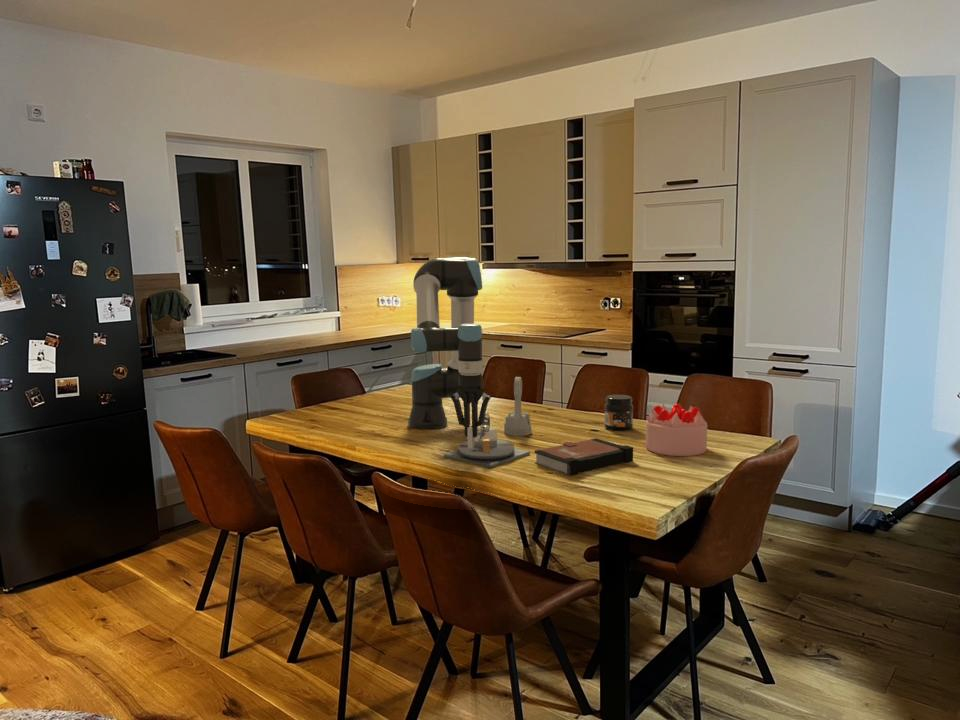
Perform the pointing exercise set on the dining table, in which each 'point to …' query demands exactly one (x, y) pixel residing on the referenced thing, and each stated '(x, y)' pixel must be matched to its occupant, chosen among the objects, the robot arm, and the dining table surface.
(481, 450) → the turntable
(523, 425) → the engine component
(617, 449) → the book
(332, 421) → the dining table surface
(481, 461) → the base plate
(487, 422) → the stand
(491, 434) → the cover
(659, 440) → the cake
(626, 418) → the supplement container
